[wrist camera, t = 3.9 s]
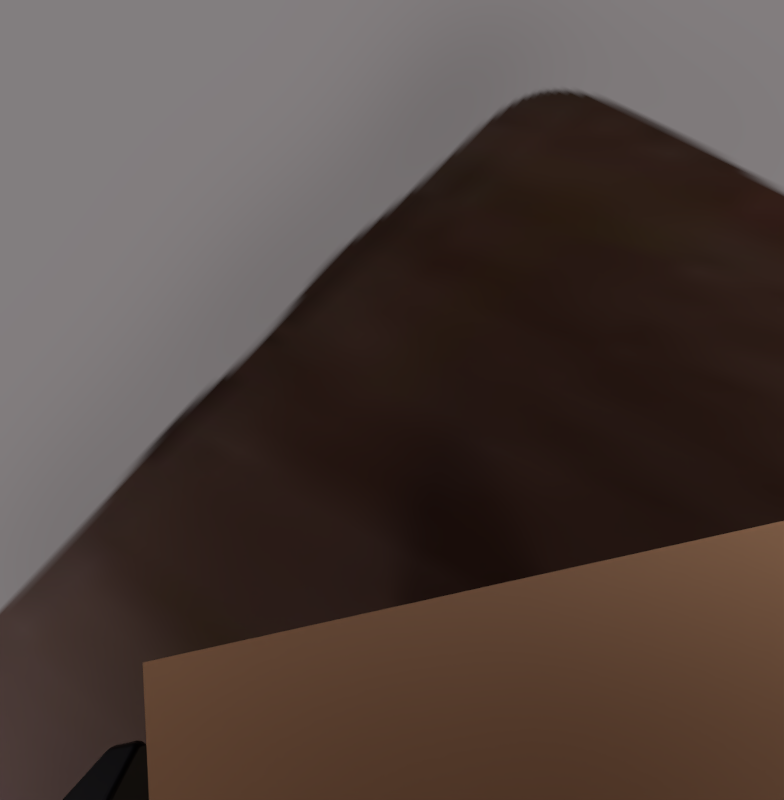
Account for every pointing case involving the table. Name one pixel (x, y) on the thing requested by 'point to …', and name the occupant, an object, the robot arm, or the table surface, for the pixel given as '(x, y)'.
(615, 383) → the table surface
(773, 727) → the wooden peg
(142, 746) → the robot arm
